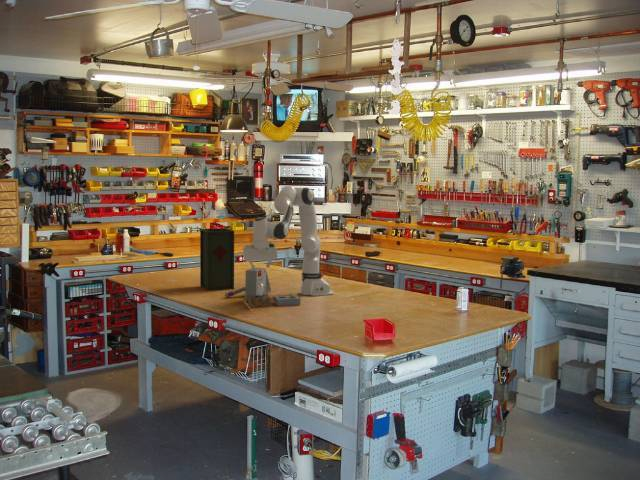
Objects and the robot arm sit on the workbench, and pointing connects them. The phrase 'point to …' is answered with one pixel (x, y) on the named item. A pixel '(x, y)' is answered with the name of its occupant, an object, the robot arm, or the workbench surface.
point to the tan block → (293, 294)
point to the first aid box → (217, 259)
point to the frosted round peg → (260, 290)
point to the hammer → (244, 289)
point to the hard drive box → (254, 281)
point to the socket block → (286, 300)
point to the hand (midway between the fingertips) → (260, 267)
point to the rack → (259, 301)
